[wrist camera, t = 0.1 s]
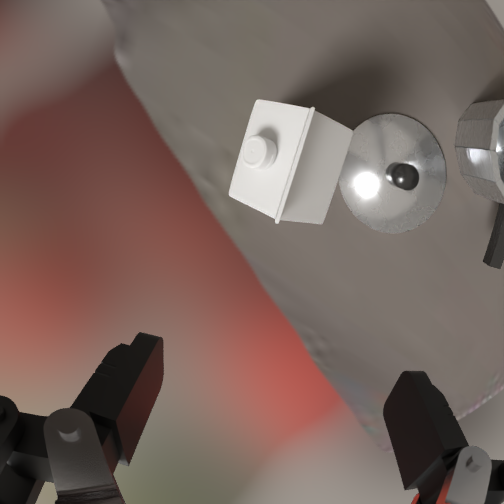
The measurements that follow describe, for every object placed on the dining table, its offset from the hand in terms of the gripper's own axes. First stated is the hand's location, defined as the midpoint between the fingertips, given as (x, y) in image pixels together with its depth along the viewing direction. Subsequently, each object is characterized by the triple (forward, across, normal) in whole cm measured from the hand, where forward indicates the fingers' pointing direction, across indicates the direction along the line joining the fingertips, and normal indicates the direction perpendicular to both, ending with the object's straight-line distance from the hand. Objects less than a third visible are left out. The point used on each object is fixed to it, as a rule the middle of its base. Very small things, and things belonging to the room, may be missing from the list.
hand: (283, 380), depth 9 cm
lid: (+30, -14, -7) cm, 33 cm away
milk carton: (+29, 0, -6) cm, 30 cm away
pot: (+29, -29, -12) cm, 43 cm away
